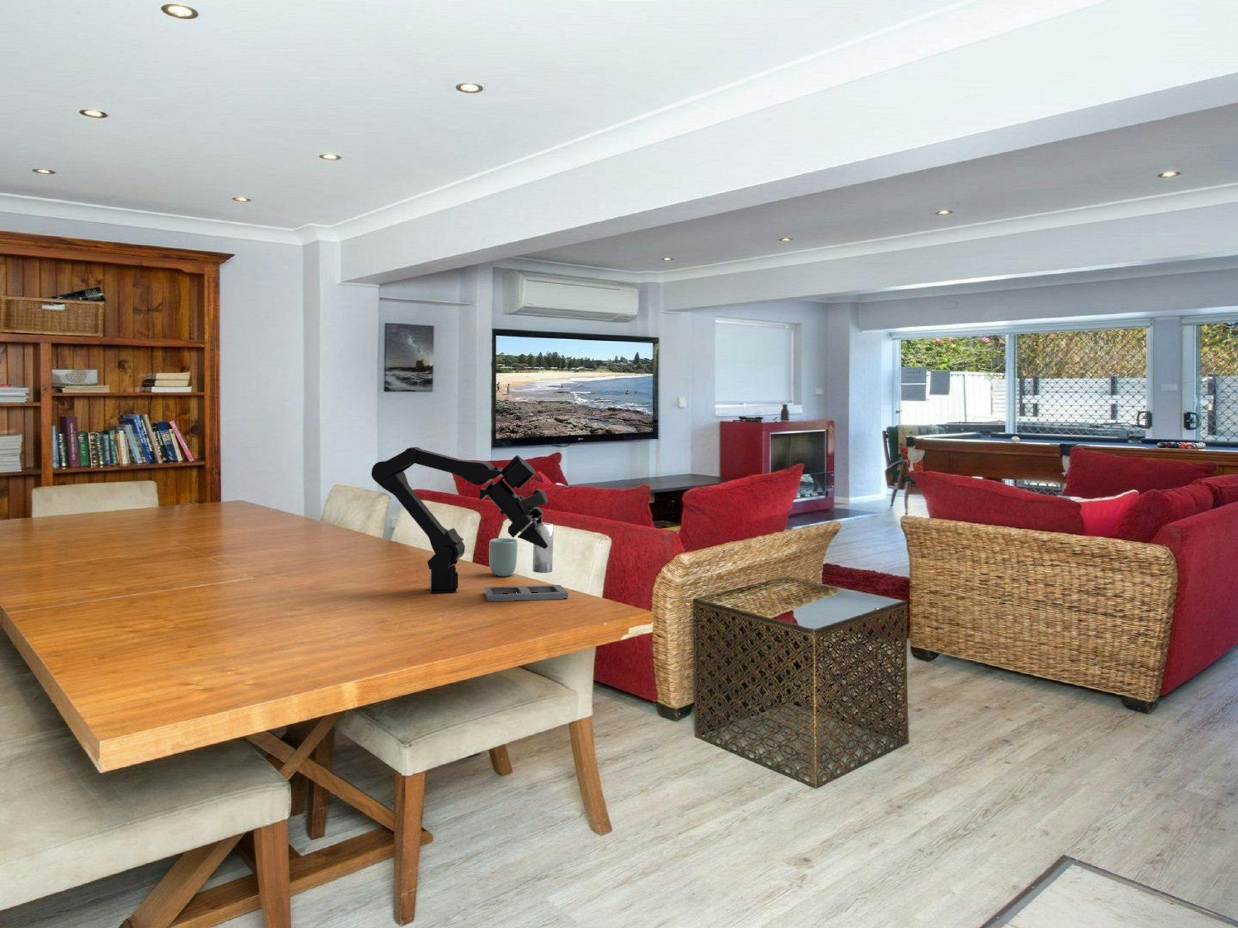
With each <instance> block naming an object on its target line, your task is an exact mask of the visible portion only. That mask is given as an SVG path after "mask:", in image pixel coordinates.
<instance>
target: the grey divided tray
mask: <svg viewBox="0 0 1238 928" xmlns="http://www.w3.org/2000/svg"><path fill="white" fill-rule="evenodd" d="M516 592H517V593H516ZM531 592H538V593H531ZM503 593H508V594H503ZM483 594H485V595H484V597H485V598H486V600H487V602H488V601H489V602H490V601H495V602H515V601H514V600H523V601H545V600H547V599H548V600H549V599H551V600H567V599H569V593H568V592H567V590H566V589H564V587H563V586H562V585H561V584H549V585H548V584H547V585H546V584H545V585H542V584H541V585H518V586H517V585H516V586H512V585H511V586H484V587H483ZM564 598H566V599H564ZM548 600H547V601H548ZM489 602H488V603H489Z"/></svg>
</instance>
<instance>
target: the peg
mask: <svg viewBox="0 0 1238 928" xmlns="http://www.w3.org/2000/svg"><path fill="white" fill-rule="evenodd" d="M536 528H537V530H538V531H539V533H540V534H541V536H542V537H543V539H544V540H545V542H546V543H547V545H548V547H547V548H546V549H544V548H542V547H539V546H537V545H535V544H533V543H532V545H533V549H532V572H533V573H537V574H549V573H552V572H553V564H554V563H553V560H554V559H553V554H554V524H553V523H547V522H542V523H536Z"/></svg>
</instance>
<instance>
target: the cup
mask: <svg viewBox="0 0 1238 928" xmlns="http://www.w3.org/2000/svg"><path fill="white" fill-rule="evenodd" d="M488 547H489V548H488V556H489V557H488V558H489V559H488V561H489V568H490V571H491V573H492V574H493V575H495V576H496V575H497V577H509V576H511V575H513V574H514V573H515V571H516V567H517V563H518V540H517V539H516V538H510V537H509V538H508V537H507V538H505V537H501V538H499V537H498V538H492V539H490V540H489V545H488Z"/></svg>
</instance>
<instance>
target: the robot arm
mask: <svg viewBox="0 0 1238 928" xmlns="http://www.w3.org/2000/svg"><path fill="white" fill-rule="evenodd" d="M414 464H415V465H420V466H423V467H426V468H431V469H434V470H438V471H441V472H447V473H449V474H450V473H451V474H454V475H456V476H458V477H460V478H462V479H463V480H465V481H467V482H469V483H471V484H473V485H475V486H481V485H485V484H486V485H487V484H488V483H489V484H488V485H487V486H486V487H485V488H483V487H482V488H480V489H479V491H478V492H479V497H478V498H479V501H481V500H484V499H485V498H487V497H488V498H489V500H491V501H492V503H493V504H494V505H495V506H496V507H497V508H498V509H499V514H501V516H505V517H507V519H508V520H509V521H510V522H511V524H510V525H509V526H508V527H507V533H508V534H509V535H510V536H511V537H512V539H515V537H516V536H517V535H518V536H517V538H518V539H522V540H524V541H526V542H529V543H531V544H532V545H533V544H535V545H537V546H539V547H542V548H544V549H546V548H547V547H548V545H547V543H546V542H545V540H544V539H543V537H542V536H541V534H540V533H539V531H538V530H537V528H536V523H543V519H544V515H543V514H545V512H544V511H543V510H542V508H541V507H540V506H543V505H545V504H547V503H549V502H550V501H549V499H548V497H547V496H548V494H547V493H546V491H545V490H541V489H539V488H537V489H534V490H533V491H532V493H531V495H530V496H528V497H526V498H524V497H523V495H518V494H517V493H516V492H515V491H514V490H513V489H516V488H517V489H520V490H521V489H522V487H523V486H525V485H526V484H527V483H528V482H529V481H530V480H531V479H532V478H533V477H534V476H536V474H537V473H536V469H534V467H533V466H532V465H531V464H530V463H529V462H527V461H526V460H525V459H523V458H521V456H520V455H515V456H514V457H512V459H511V461H510V462H508V463H507V465H505V467H497V466H494V465H493V464H492V463H491V462H489V461H486V460H476V459H474V460H473V459H472V460H471V459H459V458H456V457H452V456H449V455H444V454H443V453H442V454H441V453H437V452H433V451H429V450H426V449H422V448H420V447H418V446H412V447H407V448H406V449H405V450H404V451H403V452H401V453H398V454H397V455H394V456H393V457H391V458H389V459H387V460H382V461H377V462H376V463H374V465H373V466H372V469H371V478H372V479H373V480H374V482H375V483H377V484H378V485H379V486H380V487H381V488H382V489H384V490H385V491H387V492H389V493H390V494H392V495H394V497H395V498H396V499H397V501H398V502H399V503H400V504H401V505H402V507H404V509H405V510H406V511H407V512H408V514H409V515H410V516H411V518H412V519H413V520H414V522H416V523H417V525H418V526H419V527H420V529H421V530H422V531H423V533H424V534H425V535H426V536H427V538H428V539H429V543H430V546H431V549H432V550H433V552H434V555H433V556H431V557H430V558H429V559H428V560H427V561H426V563H427V566H428V569H429V570H430V577H429V578H430V585H429V590H430V593H432V594H436V593H437V594H439V593H457V589H459V572H458V571H457V567H456V565H457V564H458V561H459V559H460V558H462V557H463V555H464V554H465V551H466V545H465V543H464V542H463V541H464V538H462V537H461V536H460V535H459V534H458V532H457V530H456V529H455V528H453V527H452V528H451V529H447V528H445V527H444V526H443V525H442V524H441V523H440V521H439V520H438V519H437V518H436V516H435V515H434V514H433V513H432V511H430V509H429V508H428V507H427V506H426V504H425V503H424V502H423V501H422V499H420V497H419V496H418V494H416V492H415V491H414V490H413V488H412V487H411V486H410V484H409V482H408V479H407V475H406V473H405V471H407V470H408V469H409V468H411V467H412V466H413V465H414ZM497 478H500V479H499V480H498V481H496V482H495V481H493V480H495V479H497Z"/></svg>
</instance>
